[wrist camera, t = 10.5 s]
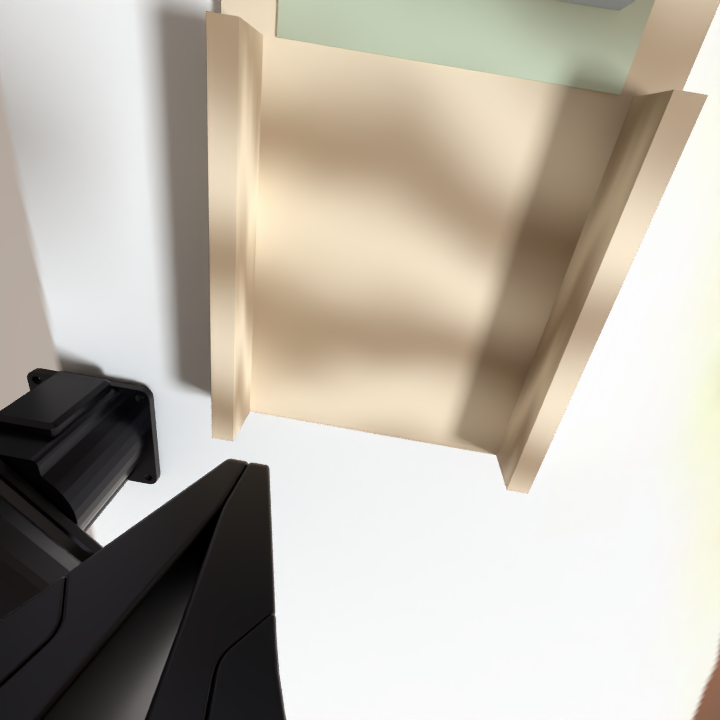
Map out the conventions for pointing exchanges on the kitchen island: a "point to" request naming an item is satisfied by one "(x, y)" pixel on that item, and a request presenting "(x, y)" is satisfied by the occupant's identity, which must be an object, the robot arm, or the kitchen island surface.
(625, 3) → the slate block
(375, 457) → the kitchen island surface
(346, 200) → the beige wooden tray
